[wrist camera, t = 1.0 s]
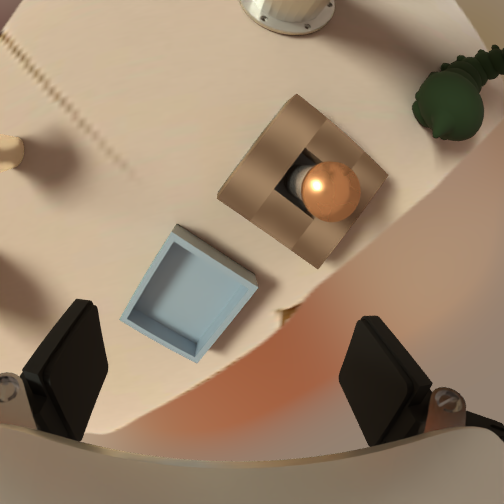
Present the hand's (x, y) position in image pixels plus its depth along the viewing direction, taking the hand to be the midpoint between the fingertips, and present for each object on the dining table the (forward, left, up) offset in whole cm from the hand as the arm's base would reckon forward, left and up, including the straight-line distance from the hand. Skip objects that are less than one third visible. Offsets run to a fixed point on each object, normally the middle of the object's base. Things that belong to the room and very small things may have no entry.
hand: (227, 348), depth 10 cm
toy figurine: (-34, +15, -28) cm, 47 cm away
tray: (+12, +2, -27) cm, 30 cm away
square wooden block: (-8, +5, -27) cm, 29 cm away
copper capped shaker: (-8, +5, -26) cm, 28 cm away
